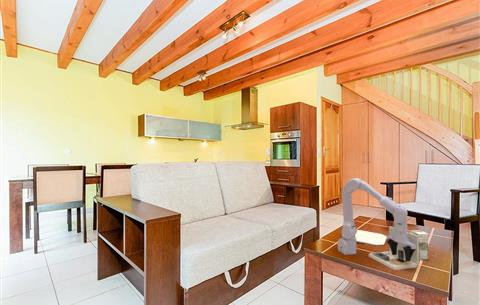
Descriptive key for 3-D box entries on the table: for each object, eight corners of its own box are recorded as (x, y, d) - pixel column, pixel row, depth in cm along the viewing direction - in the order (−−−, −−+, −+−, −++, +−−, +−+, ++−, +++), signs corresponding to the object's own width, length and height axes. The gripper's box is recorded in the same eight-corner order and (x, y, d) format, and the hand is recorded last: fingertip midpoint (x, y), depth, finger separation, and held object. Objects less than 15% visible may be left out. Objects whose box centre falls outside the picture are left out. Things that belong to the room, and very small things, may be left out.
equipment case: (394, 272, 111) (394, 238, 111) (368, 258, 126) (368, 228, 127) (419, 268, 114) (418, 235, 115) (391, 255, 130) (390, 226, 130)
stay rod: (401, 265, 115) (401, 251, 115) (397, 263, 117) (396, 250, 118) (405, 265, 116) (404, 251, 116) (400, 263, 118) (400, 249, 118)
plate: (383, 249, 139) (383, 245, 139) (340, 240, 155) (340, 237, 155) (387, 238, 159) (387, 234, 159) (349, 231, 174) (349, 228, 174)
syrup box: (420, 255, 130) (419, 229, 130) (429, 260, 124) (428, 233, 124) (410, 255, 130) (409, 230, 130) (418, 260, 124) (418, 233, 124)
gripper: (420, 235, 111) (421, 263, 110) (394, 226, 125) (394, 251, 125) (409, 236, 109) (409, 264, 109) (383, 227, 123) (384, 252, 123)
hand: (400, 257), depth 117 cm, fingers open, 7 cm apart
